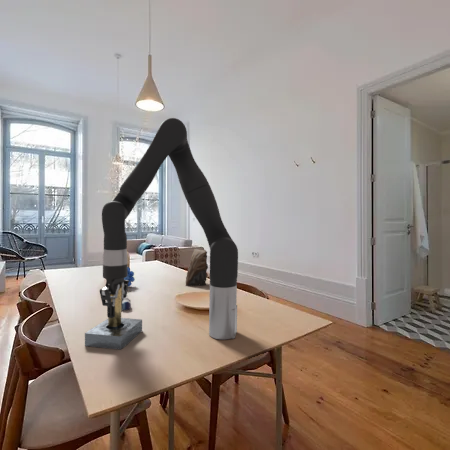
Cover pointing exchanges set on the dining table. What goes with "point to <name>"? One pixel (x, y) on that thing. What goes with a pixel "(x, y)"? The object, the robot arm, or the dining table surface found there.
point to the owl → (197, 269)
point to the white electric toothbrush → (126, 304)
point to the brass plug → (116, 312)
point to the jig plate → (113, 334)
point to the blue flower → (129, 276)
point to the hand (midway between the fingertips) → (115, 314)
